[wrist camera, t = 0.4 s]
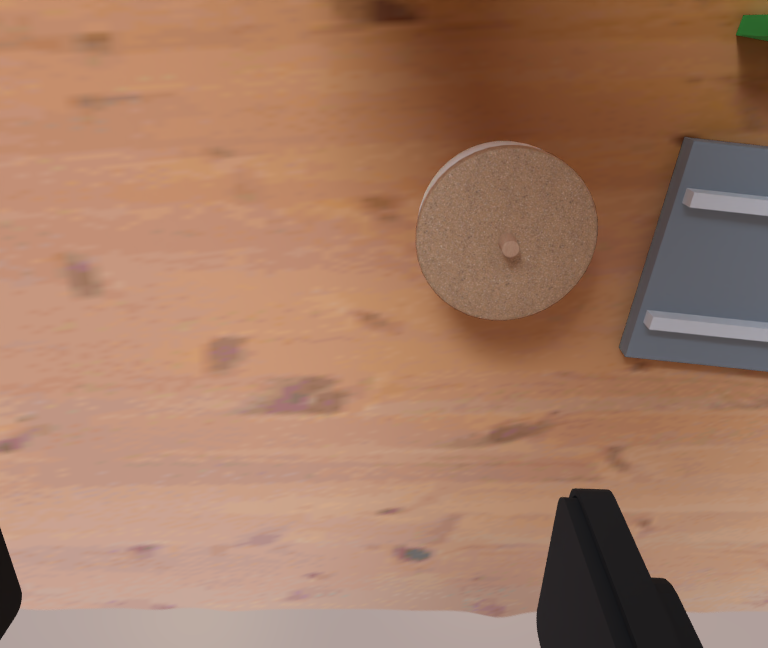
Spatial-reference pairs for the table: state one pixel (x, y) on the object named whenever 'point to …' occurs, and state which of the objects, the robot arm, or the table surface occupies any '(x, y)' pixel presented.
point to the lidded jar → (505, 230)
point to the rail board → (707, 263)
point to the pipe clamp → (754, 27)
